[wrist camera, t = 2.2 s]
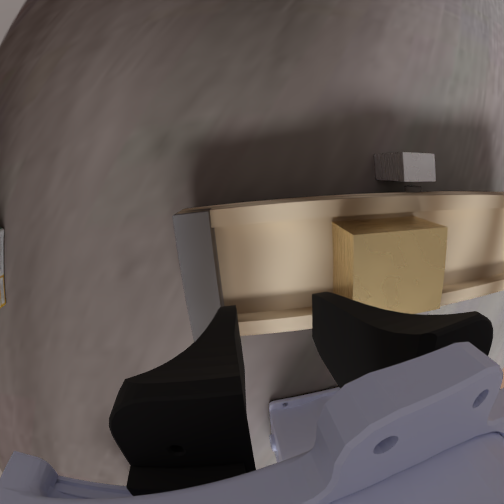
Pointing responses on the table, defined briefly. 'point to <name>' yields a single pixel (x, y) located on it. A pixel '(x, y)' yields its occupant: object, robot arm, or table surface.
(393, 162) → the grey rectangular bar
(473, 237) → the beam
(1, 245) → the crayon box
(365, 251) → the block
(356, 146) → the table surface
